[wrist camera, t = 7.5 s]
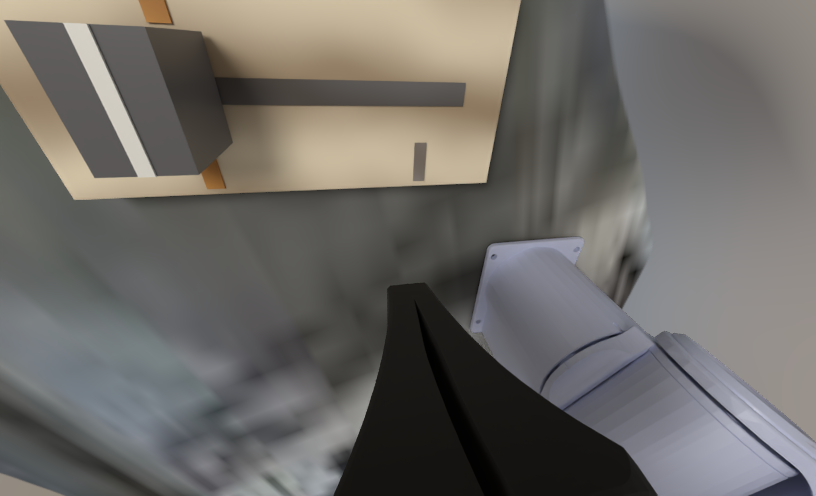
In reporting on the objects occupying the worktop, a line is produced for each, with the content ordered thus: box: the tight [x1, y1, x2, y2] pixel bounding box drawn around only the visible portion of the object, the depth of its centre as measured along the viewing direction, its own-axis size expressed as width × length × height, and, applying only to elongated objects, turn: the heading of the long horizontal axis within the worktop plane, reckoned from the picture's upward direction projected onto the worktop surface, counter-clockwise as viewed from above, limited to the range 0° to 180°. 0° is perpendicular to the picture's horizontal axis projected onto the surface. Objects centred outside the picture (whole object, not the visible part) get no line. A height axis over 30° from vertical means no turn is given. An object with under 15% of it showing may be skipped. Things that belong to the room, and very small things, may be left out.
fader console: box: [0, 0, 521, 200], centre depth 14 cm, size 9×20×2 cm, turn 87°
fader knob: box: [4, 20, 233, 178], centre depth 10 cm, size 4×3×4 cm
